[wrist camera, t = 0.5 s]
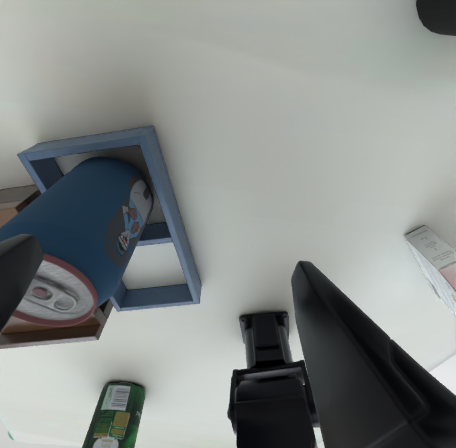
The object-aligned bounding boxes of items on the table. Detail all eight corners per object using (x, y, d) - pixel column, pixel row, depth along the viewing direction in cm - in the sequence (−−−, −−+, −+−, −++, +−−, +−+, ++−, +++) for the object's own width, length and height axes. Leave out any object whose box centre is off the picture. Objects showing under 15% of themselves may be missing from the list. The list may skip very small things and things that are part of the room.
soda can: (63, 187, 23) (-60, 294, 13) (104, 133, 20) (-12, 216, 10) (129, 231, 26) (69, 346, 16) (172, 189, 23) (132, 296, 13)
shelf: (116, 297, 32) (98, 340, 27) (27, 306, 33) (-5, 349, 28) (46, 183, 23) (1, 217, 18) (-75, 199, 23) (-148, 237, 19)
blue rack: (201, 285, 30) (199, 303, 28) (124, 293, 31) (117, 311, 29) (153, 125, 20) (144, 135, 18) (37, 143, 20) (16, 154, 18)
